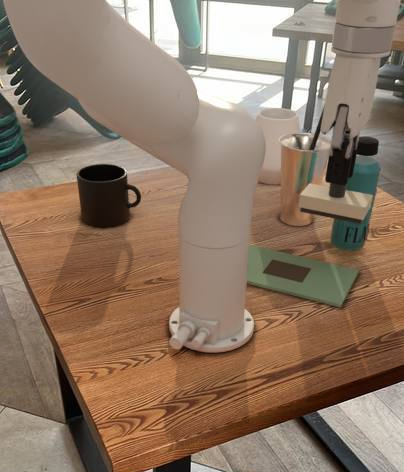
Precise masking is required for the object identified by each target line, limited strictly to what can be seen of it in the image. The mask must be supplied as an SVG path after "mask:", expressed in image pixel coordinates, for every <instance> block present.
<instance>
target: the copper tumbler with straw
mask: <svg viewBox="0 0 404 472" xmlns="http://www.w3.org/2000/svg"><path fill="white" fill-rule="evenodd" d="M324 106H325V104H324V105H323V107H322V111H321V114H320V117H319V119H318V123H317V125H316V128H315V132H314V133H311V132H300V133H291V134H286V135H283V136H281V137H280V138H279V143H280V144H281V184H279V186H280V209H279V210H280V215H279V219H280V221H281V222H282V223H284V224H286V225H289V226H292V227H293V226H294V227H303V226H308V225H310V224H311V223H312V222H313V218H314V214H309V213H304V212H300V209H301V207H298V206H299V198H300V194H301V193H302V192H303V191H304V189H305V188H306V187H307V186H308V185H309V183H311V184H316V185H321V186H322V183H323V180H324V176H325V173H326V169H327V165H328V158H329V153H330V147H331V141H332V138H329V137H328V136H325V135H323V134H321V123H322V118H323V112H324Z"/></svg>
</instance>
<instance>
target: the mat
mask: <svg viewBox="0 0 404 472" xmlns="http://www.w3.org/2000/svg"><path fill="white" fill-rule="evenodd" d="M359 272H360V269H357V268H353V267H348V266H345V265H340V264H335V263H331V262H327V261H322V260H318V259H314V258H308V257H306V256H302V255H297V254H292V253H288V252H284V251H279V250H275V249H271V248H267V247H262V246H258V245H255V244H250V248H249V261H248V274H247V285H251V286H254V287H259V288H263V289H266V290H270V291H275V292H278V293H282V294H286V295H289V296H290V295H291V296H293V297H298V298H301V299H306V300H310V301H314V302H317V303H322V304H326V305H329V306H333V307H337V308H342V306H343V303H344V302H345V300H346V299H347V296H348V295H349V292H350V290H351V288H352V286H353V285H354V282H355V280H356V278H357V277H358V274H359Z"/></svg>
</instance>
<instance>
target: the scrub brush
mask: <svg viewBox="0 0 404 472" xmlns="http://www.w3.org/2000/svg"><path fill="white" fill-rule="evenodd" d="M347 141H348V140H343V142H346V145H347ZM353 146H354V141H353V143H352V148H351V154H350V157H352V152H353ZM346 147H347V146H346ZM346 185H347V184H346ZM346 185H338V184H333V183H329V186H327V185H322V184H321V185H316V184H311V183H309V185H308V186H307V187H306V188H305V189H304V191H303V192H302V193H301V194H300V198H299V206H298V207H301V209H300V212H304V213H309V214H314V215H315V216H320V217H325V218H330V219H333V220H334V219H339V220H344V221H349V222H354V223H358V224H361V222H362V221H363V220H364V218H365V216H366V214H367V213H368V211H369V209H370V207H371V203H372V198H373V195H370V194H364V193H359V192H354V191H348V190H346ZM314 215H313V216H314Z"/></svg>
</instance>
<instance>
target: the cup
mask: <svg viewBox="0 0 404 472" xmlns="http://www.w3.org/2000/svg"><path fill="white" fill-rule="evenodd" d="M255 117H256V118H255V119H256V121H257V122H258V123H259V125H260V126H261V128H262V130H263V133H264V136H265V142H266V152H265V158H264V162H263V166H262V170H261V173H260V176H259V180H258V183H260V184H265V185H275V186H276V185H280V184H281V144H280V143H279V138H280V137H281V136H283V135H286V134H291V133H301V127H300V118H299V113H298V112H296V111H295V110H292V109H289V108H283V107H267V108H263V109H260V110H259V111H258V112H257V114H256V116H255Z"/></svg>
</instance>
